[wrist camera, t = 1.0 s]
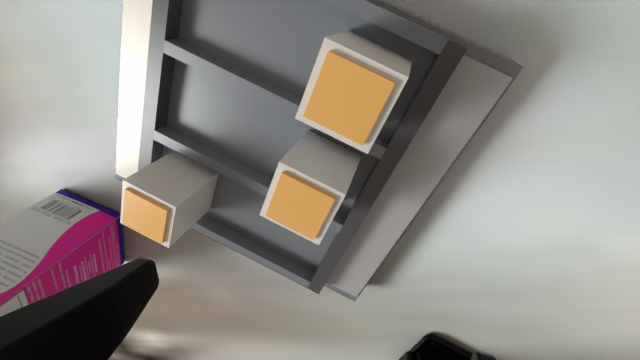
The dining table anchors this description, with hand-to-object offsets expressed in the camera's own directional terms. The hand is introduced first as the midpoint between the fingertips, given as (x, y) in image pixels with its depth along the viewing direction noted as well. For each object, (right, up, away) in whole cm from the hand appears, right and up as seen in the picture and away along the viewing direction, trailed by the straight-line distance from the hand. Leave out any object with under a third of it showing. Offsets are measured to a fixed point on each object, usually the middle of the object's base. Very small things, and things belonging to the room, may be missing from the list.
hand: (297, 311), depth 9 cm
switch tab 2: (+3, +8, +6) cm, 10 cm away
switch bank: (-2, +7, +10) cm, 12 cm away
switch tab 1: (-7, +4, +11) cm, 14 cm away
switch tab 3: (+1, +4, +8) cm, 9 cm away
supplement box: (-18, 0, +19) cm, 26 cm away
